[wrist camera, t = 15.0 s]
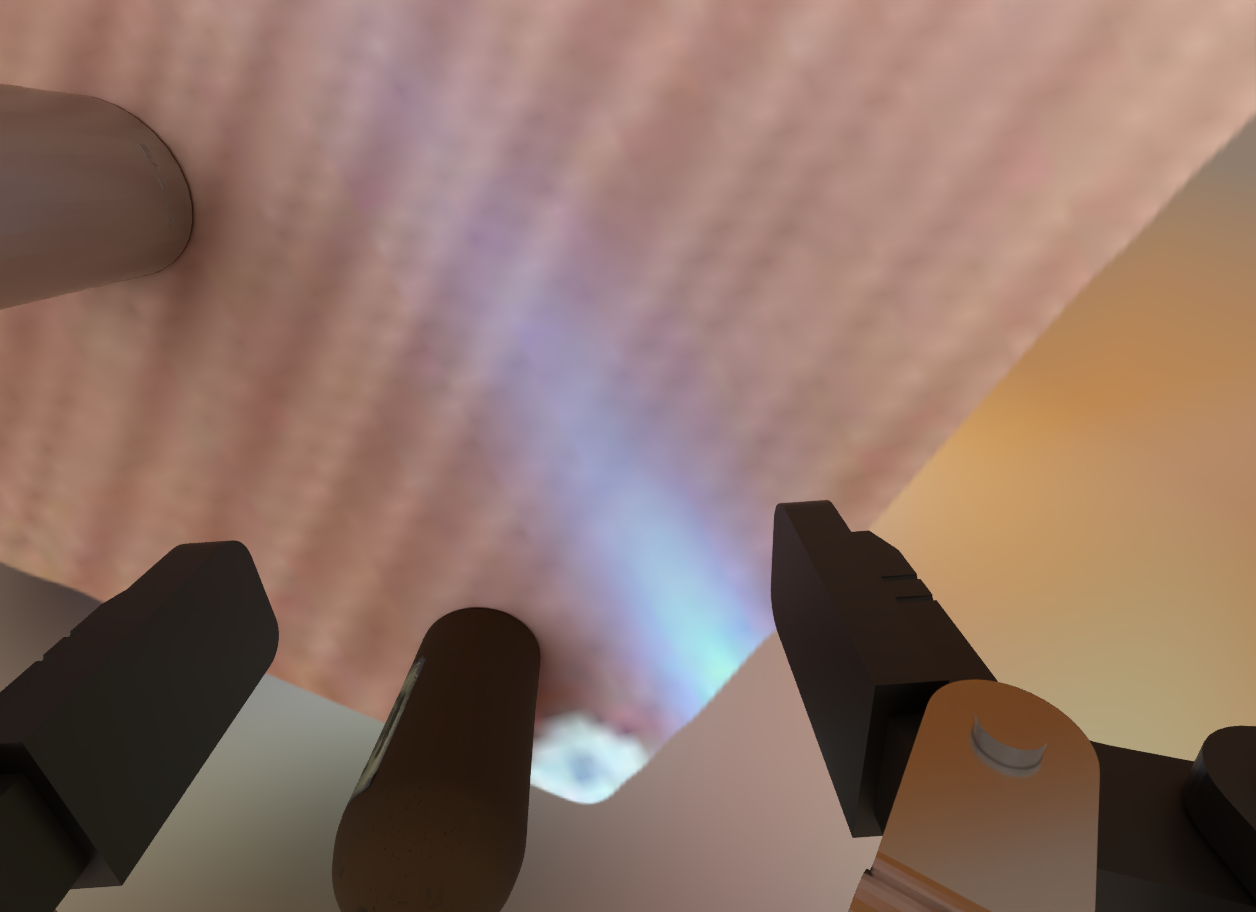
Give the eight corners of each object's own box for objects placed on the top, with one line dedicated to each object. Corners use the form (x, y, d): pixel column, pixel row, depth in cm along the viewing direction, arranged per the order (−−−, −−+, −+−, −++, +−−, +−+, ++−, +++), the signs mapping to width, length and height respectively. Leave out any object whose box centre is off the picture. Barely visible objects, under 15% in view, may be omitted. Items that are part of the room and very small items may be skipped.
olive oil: (559, 612, 48) (516, 1017, 25) (536, 709, 52) (480, 1128, 29) (420, 589, 46) (242, 994, 24) (408, 691, 51) (248, 1114, 28)
